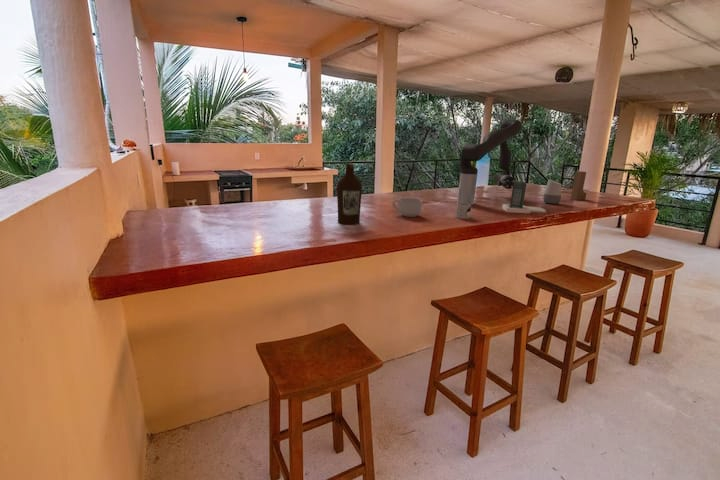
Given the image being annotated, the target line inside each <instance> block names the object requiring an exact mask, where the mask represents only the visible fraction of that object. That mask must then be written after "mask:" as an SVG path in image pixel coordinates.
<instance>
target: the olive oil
mask: <svg viewBox="0 0 720 480" xmlns="http://www.w3.org/2000/svg"><path fill="white" fill-rule="evenodd" d="M345 166H346V167H345V173H344V174H343V175H342V176H341V178H340V179H338V182H337V184H336V196H337V198H336V199H337V222H338V224H339V225H340V224H341V225H346V226H348V225H349V226H352V225H358V224H360V219H361V204H362V203H361V202H362V191H363V185H362V182H361V180H360V179H359V177H358V176H357V175H356V174H355V167H354V166H355V165H354V163H346V164H345Z"/></svg>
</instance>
